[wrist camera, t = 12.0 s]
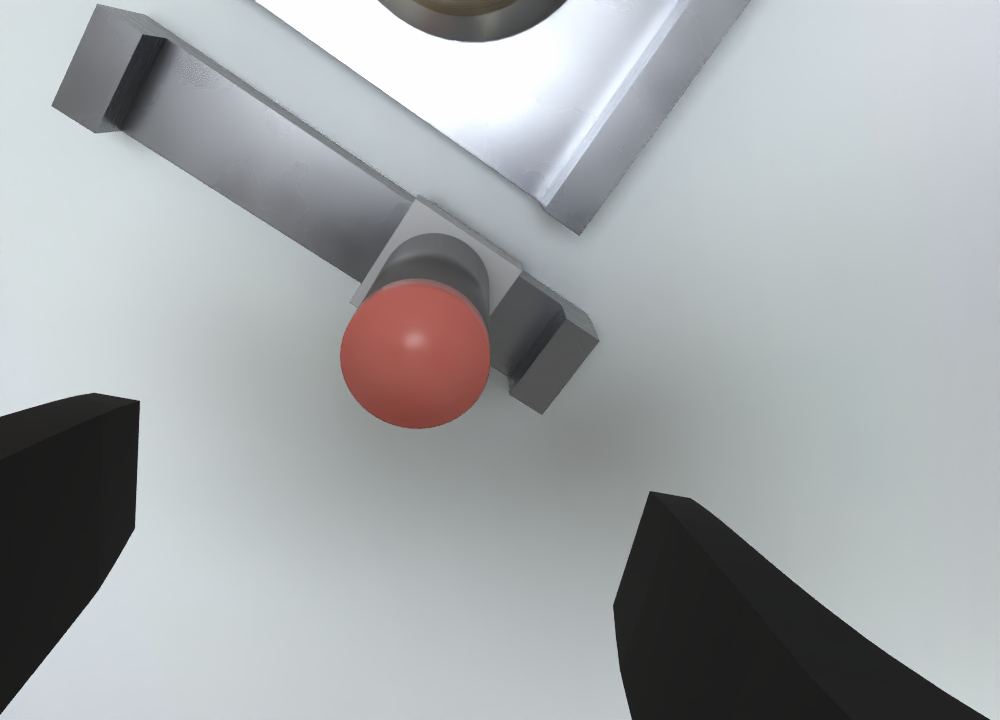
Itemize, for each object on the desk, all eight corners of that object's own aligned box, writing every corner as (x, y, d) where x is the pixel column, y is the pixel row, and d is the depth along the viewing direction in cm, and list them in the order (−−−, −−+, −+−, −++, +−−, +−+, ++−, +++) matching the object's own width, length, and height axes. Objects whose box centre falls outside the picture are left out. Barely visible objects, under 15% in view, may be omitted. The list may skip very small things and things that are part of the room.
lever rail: (587, 314, 20) (599, 340, 18) (536, 382, 20) (541, 414, 18) (144, 14, 17) (97, 4, 15) (102, 104, 18) (51, 106, 15)
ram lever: (520, 263, 18) (535, 339, 12) (454, 356, 19) (440, 467, 13) (418, 194, 17) (387, 242, 12) (354, 294, 18) (296, 382, 13)
